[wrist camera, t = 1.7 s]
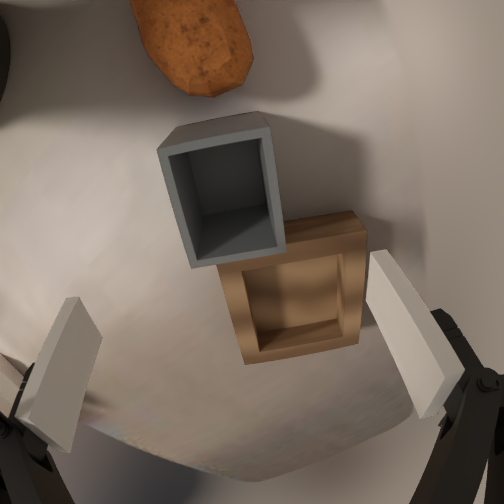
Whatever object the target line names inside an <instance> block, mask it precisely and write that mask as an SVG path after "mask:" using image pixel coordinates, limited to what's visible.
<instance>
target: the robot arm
mask: <svg viewBox="0 0 504 504" xmlns="http://www.w3.org/2000/svg"><path fill="white" fill-rule="evenodd" d="M9 61H10V43H9V36H8V31H7V28H6V25H5V23H4V21H3V19H2V18H1V16H0V99H1V97H2V94H3V91H4V88H5V84H6V80H7V75H8V70H9ZM366 302H367V304H368V306H369V308H370V310H371V312H372V314H373V316H374V318H375V320H376V322H377V324H378V326H379V328H380V330H381V333H382V335H383V337H384V339H385V341H386V343H387V345H388V347H389V349H390V352H391V354H392V356H393V358H394V360H395V363H396V365H397V367H398V369H399V371H400V374H401V376H402V378H403V380H404V383H405V385H406V387H407V390H408V392H409V394H410V397H411V399H412V401H413V404H414V406H415V409H416V411H417V413H418V416H419V419H420V420H422V419H425V418H428V417H430V416H433V415H435V414H438V413H439V411H440V410H441V408H442V406H444V408H445V410H446V412H447V413H446V414H445V416H444V417H443V419H442V420H441V421H440V423H439V425H438V426H440V427H441V429H440V432H439V435H438V438H437V440H436V443H435V446H434V448H433V451H432V454H431V456H430V459H429V461H428V463H427V466H426V468H425V471H424V473H423V475H422V477H421V480H420V482H419V484H418V486H417V488H416V491H415V493H414V495H413V497H412V499H411V501H410V503H409V504H473V502H474V500H475V497H476V494H477V491H478V489H479V486H480V482H481V480H482V476H483V473H484V470H485V467H486V463H487V460H488V470H487V481H486V491H485V498H484V504H504V375H499V374H498V373H497V372H495V371H494V370H492V369H490V368H484V367H483V365H482V364H481V362H480V361H479V359H478V357H477V356H476V354H475V353H474V351H473V349H472V348H471V346H470V345H469V343H468V341H467V340H466V338H465V337H464V336H463V334H462V332H461V331H460V329H459V328H458V327H457V325H456V323H455V322H454V320H453V319H452V317H451V316H450V315H449V314H447V313H446V312H444V311H443V310H442V309H437V310H434V311H429V310H428V308H427V307H426V305H425V304H424V302H423V301H422V299H421V298H420V296H419V295H418V293H417V292H416V290H415V289H414V287H413V286H412V284H411V283H410V281H409V280H408V279H407V277H406V276H405V274H404V273H403V271H402V270H401V269H400V267H399V266H398V264H397V263H396V262H395V260H394V259H393V258H392V256H391V255H390V254H389V252H388V251H387V249H385V250H379V251H373V252H370V263H369V274H368V284H367V294H366ZM102 338H103V337H102V336H101V334H100V332H99V331H98V329H97V327H96V326H95V324H94V322H93V321H92V319H91V317H90V316H89V314H88V312H87V310H86V309H85V307H84V305H83V303H82V301H81V300H80V298H79V297H72V298H66V300H65V302H64V304H63V306H62V308H61V310H60V312H59V314H58V316H57V318H56V320H55V322H54V324H53V326H52V328H51V330H50V332H49V334H48V336H47V338H46V340H45V342H44V345H43V347H42V349H41V351H40V353H39V356H38V358H37V360H36V363H33V364H32V365H31V366H30V367H29V369H28V370H27V371H26V373H25V376H24V378H23V380H22V382H23V383H21V385H20V388H19V391H18V393H17V395H16V398H15V401H14V403H13V406H12V409H11V411H10V414H9V417H8V418H7V417H6V416H5V415H4V414H3V413H2V412H1V411H0V504H75V503H74V501H73V499H72V497H71V495H70V493H69V492H68V490H67V488H66V486H65V484H64V482H63V480H62V478H61V476H60V474H59V471H58V469H57V467H56V465H55V463H54V460H53V458H52V456H51V454H50V453H49V451H47V447H48V445H49V446H51V447H52V448H53V449H54V450H56V451H59V452H65V453H70V452H71V447H72V443H73V438H74V434H75V430H76V426H77V422H78V418H79V414H80V411H81V407H82V403H83V399H84V396H85V392H86V389H87V385H88V382H89V379H90V375H91V372H92V369H93V365H94V362H95V359H96V356H97V353H98V350H99V347H100V344H101V341H102ZM441 425H442V426H441Z"/></svg>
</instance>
